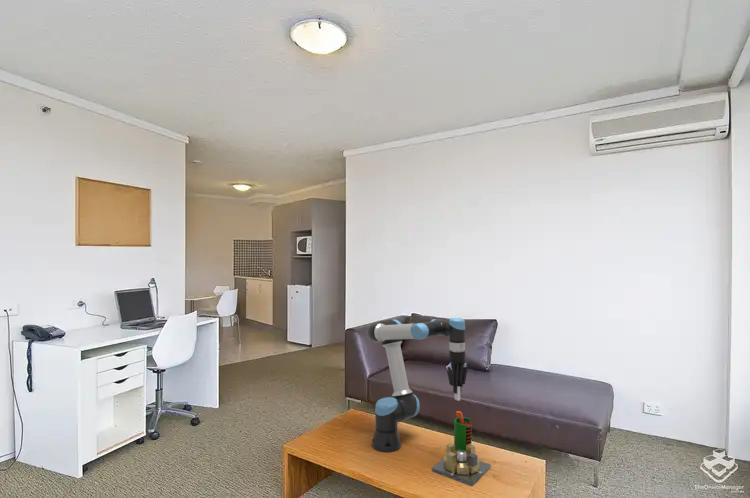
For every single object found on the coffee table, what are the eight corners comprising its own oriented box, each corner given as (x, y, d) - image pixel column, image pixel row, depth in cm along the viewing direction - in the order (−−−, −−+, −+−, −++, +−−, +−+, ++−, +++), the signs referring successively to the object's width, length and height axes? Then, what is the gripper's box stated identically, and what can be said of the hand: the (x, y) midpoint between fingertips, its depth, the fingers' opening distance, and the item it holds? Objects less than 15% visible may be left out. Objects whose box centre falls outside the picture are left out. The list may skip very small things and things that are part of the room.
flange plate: (431, 471, 190) (431, 453, 190) (452, 454, 206) (452, 438, 206) (472, 486, 178) (472, 467, 178) (490, 467, 193) (490, 450, 193)
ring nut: (463, 478, 180) (463, 461, 180) (436, 463, 193) (436, 448, 193) (486, 466, 190) (486, 451, 190) (459, 453, 203) (459, 439, 203)
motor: (472, 457, 203) (472, 417, 203) (453, 456, 204) (453, 415, 205) (471, 448, 213) (471, 409, 213) (454, 446, 214) (454, 408, 215)
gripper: (451, 353, 192) (451, 404, 191) (472, 350, 198) (473, 400, 197) (441, 350, 199) (441, 399, 198) (462, 347, 204) (463, 395, 204)
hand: (457, 399), depth 198 cm, fingers closed
